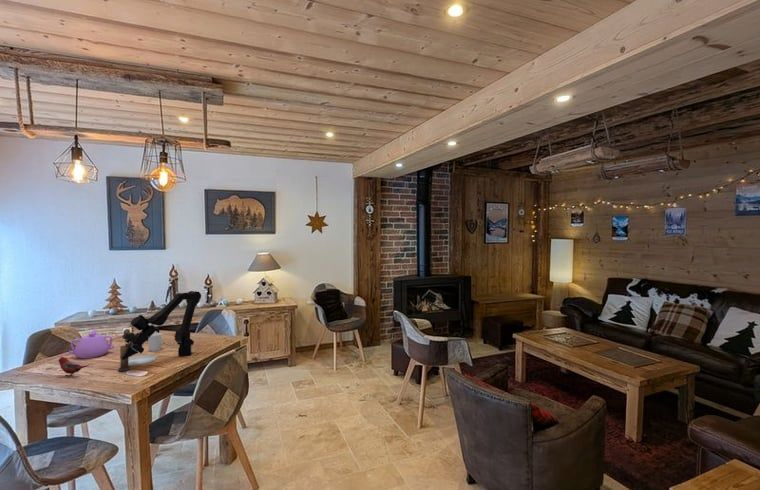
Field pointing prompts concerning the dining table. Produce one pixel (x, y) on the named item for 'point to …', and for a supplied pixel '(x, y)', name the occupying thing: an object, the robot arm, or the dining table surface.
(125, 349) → the brown tapered knob
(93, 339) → the teapot
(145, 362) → the white smooth round part
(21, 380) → the dining table surface
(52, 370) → the dining table surface
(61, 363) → the decorative bird figurine
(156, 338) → the white cup
